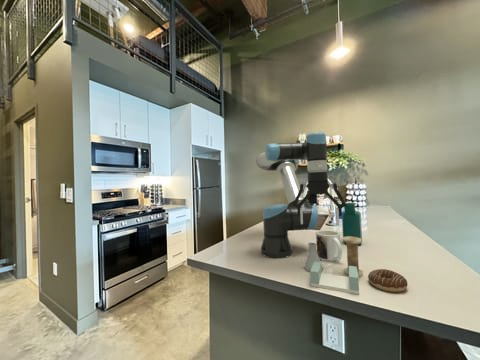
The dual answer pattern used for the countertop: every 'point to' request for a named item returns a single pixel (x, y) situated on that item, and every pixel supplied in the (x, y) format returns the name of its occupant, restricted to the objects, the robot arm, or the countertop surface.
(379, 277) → the donut
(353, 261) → the bobbin
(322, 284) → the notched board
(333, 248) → the mug
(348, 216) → the green bottle
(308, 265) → the flask
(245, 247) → the countertop surface
